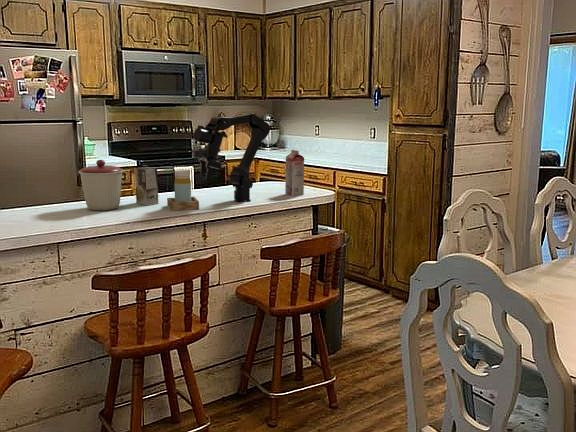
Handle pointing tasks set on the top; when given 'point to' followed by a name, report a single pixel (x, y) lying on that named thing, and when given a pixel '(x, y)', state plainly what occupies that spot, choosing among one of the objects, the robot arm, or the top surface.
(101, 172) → the canister
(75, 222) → the top surface
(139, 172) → the coffee box
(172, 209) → the caddy
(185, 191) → the bottle
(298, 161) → the juice carton
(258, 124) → the robot arm
